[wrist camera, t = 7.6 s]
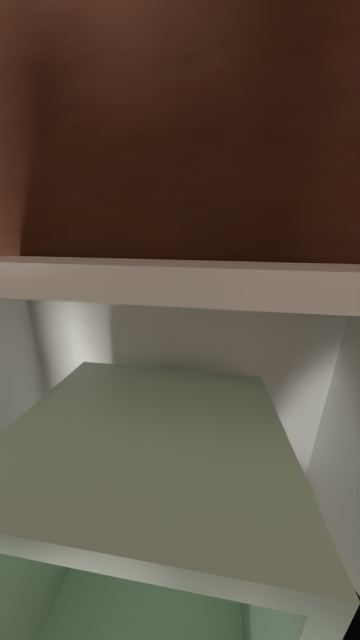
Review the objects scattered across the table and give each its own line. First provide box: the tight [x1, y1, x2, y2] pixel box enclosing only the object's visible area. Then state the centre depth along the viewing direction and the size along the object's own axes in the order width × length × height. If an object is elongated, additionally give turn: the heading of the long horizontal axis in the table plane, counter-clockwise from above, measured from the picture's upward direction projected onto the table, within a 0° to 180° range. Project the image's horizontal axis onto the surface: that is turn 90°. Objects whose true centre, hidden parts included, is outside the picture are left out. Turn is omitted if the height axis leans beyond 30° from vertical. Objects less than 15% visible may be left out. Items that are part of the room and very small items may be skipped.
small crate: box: [0, 362, 360, 640], centre depth 6 cm, size 6×6×5 cm
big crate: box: [0, 256, 360, 596], centre depth 8 cm, size 14×14×5 cm
